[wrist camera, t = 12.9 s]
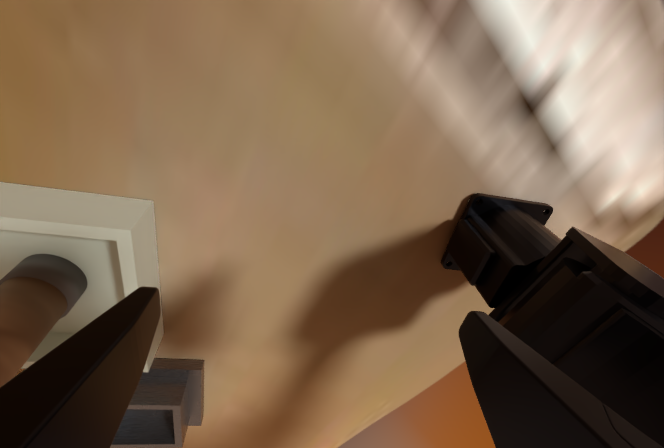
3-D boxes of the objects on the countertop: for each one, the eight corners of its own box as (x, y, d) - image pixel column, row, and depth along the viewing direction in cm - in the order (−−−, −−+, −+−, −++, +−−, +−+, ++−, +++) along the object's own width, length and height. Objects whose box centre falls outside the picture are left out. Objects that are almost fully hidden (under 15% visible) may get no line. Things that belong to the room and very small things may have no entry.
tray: (153, 200, 21) (130, 230, 18) (163, 334, 27) (148, 372, 24) (-88, 171, 19) (-159, 200, 16) (-15, 324, 25) (-57, 366, 22)
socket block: (204, 360, 30) (194, 398, 27) (203, 415, 34) (194, 453, 31) (92, 355, 28) (68, 396, 25) (107, 414, 32) (88, 454, 29)
